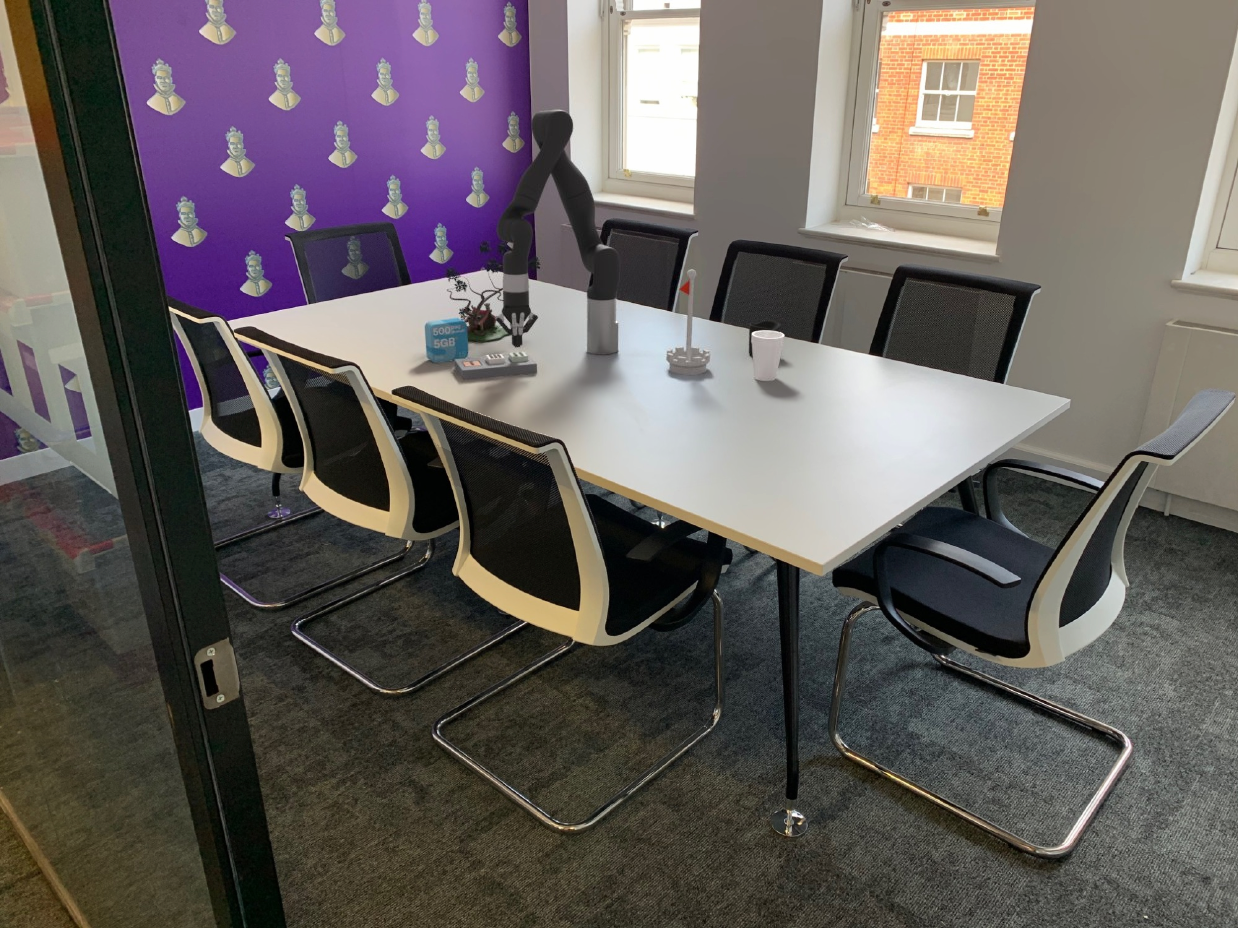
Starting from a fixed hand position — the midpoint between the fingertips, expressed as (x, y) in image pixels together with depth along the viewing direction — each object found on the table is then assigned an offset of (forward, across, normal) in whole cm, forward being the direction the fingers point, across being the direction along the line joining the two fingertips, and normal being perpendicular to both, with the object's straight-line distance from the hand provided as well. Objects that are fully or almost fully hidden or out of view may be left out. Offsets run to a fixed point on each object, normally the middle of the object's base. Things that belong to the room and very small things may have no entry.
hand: (517, 346), depth 280 cm
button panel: (+7, +7, 0) cm, 10 cm away
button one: (+7, +14, 0) cm, 15 cm away
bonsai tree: (+7, -3, -40) cm, 41 cm away
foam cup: (+6, -66, +31) cm, 74 cm away
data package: (+7, +18, -17) cm, 25 cm away
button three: (+5, +7, 0) cm, 9 cm away
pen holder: (+6, -77, +9) cm, 78 cm away
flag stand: (+7, -48, +16) cm, 51 cm away
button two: (+5, 0, 0) cm, 5 cm away
